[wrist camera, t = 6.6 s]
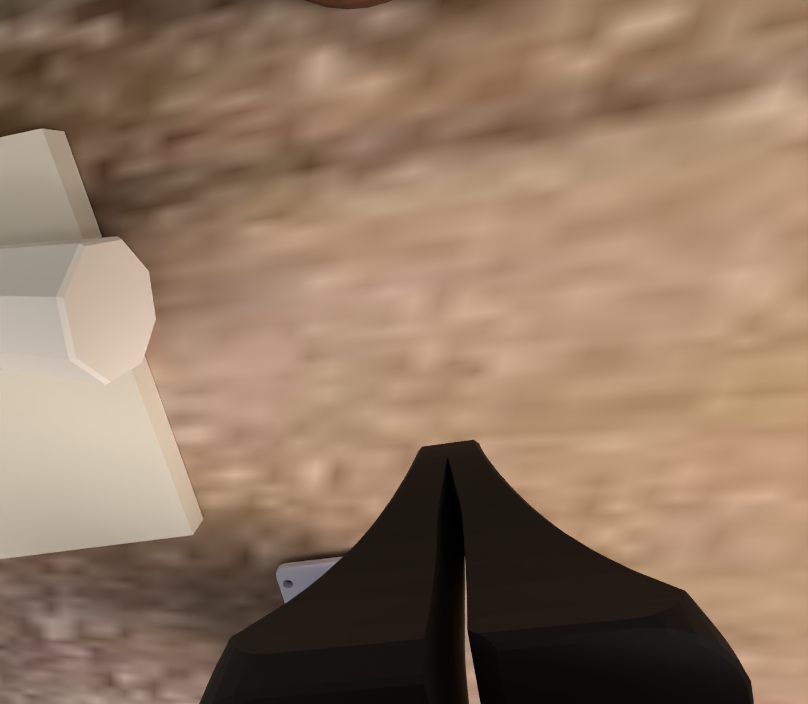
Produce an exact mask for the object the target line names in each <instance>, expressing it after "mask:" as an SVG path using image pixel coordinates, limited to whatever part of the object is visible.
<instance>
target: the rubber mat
mask: <svg viewBox="0 0 808 704" xmlns="http://www.w3.org/2000/svg"><path fill="white" fill-rule="evenodd" d="M90 238H102V235H101V232H100V230H99V227H98V224H97V221H96V219H95V216H94V213H93V210H92V207H91V205H90V202H89V199H88V196H87V194H86V191H85V188H84V185H83V182H82V180H81V177H80V174H79V171H78V168H77V166H76V163H75V160H74V157H73V155H72V152H71V149H70V146H69V143H68V141H67V138H66V135H65V132H64V131H58V130H50V129H43V128H41V129H37V130H32V131H27V132H23V133H18V134H13V135H9V136H4V137H0V246H1V245H13V244H26V243H39V242H52V241H65V240H77V239H90ZM202 520H203V516H202V514H201V511H200V508H199V505H198V502H197V500H196V497H195V494H194V491H193V489H192V486H191V483H190V480H189V477H188V475H187V472H186V469H185V466H184V464H183V461H182V458H181V455H180V452H179V450H178V447H177V444H176V441H175V438H174V436H173V433H172V430H171V427H170V425H169V422H168V419H167V416H166V413H165V411H164V408H163V405H162V402H161V400H160V397H159V394H158V391H157V388H156V386H155V383H154V380H153V377H152V374H151V372H150V369H149V366H148V363H147V361H146V358H145V355H144V358H143V361H142V363H141V364H139V365H138V366H136V367H134V368H133V369H131V370H129V371H128V372H126V373H124V374H123V375H121V376H119V377H118V378H116V379H114V380H113V381H111V382H109V383H108V384H106V385H104V384H98V383H91V382H85V381H78V380H72V379H66V378H59V377H53V376H46V375H40V374H33V373H27V372H20V371H14V370H7V369H1V368H0V559H5V558H13V557H21V556H29V555H37V554H45V553H53V552H61V551H69V550H77V549H85V548H93V547H101V546H109V545H117V544H125V543H133V542H141V541H149V540H157V539H165V538H173V537H181V536H189V535H193V534H194V533H195V531H196V529H197V528H198V526H199V525H200V523H201V522H202Z"/></svg>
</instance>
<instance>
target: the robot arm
mask: <svg viewBox="0 0 808 704" xmlns="http://www.w3.org/2000/svg"><path fill="white" fill-rule="evenodd" d="M465 561H466V583H467V630H468V636H469V641H470V647H471V652H472V658H473V664H474V669H475V675H476V680H477V686H478V691H479V697H480V703H481V704H754V700H753V693H752V686H751V680H750V679H749V677H748V675H747V673H746V672H745V670H744V668H743V666H742V665H741V663H740V661H739V659H738V658H737V656H736V654H735V653H734V651H733V650H732V648H731V647H730V645H729V644H728V642H727V641H726V640H725V638H724V637H723V635H722V634H721V633H720V632H719V630H718V629H717V628H716V627H715V626H714V624H713V623H712V622H711V621H710V619H709V618H708V617H707V616H706V615H705V613H704V612H703V611H702V610H701V609H700V607H699V606H698V605H697V604H696V603H695V601H694V600H693V599H692V598H691V597H690V596H689V594H688V593H687V592H686V591H684V590H682V589H679V588H677V587H674V586H671V585H669V584H666V583H664V582H661V581H659V580H656V579H654V578H651V577H649V576H646V575H643V574H641V573H638V572H636V571H634V570H631V569H629V568H627V567H625V566H623V565H621V564H619V563H617V562H615V561H613V560H611V559H609V558H607V557H605V556H603V555H601V554H599V553H597V552H595V551H594V550H592V549H590V548H588V547H587V546H585V545H583V544H582V543H580V542H579V541H577V540H575V539H574V538H572V537H570V536H569V535H567V534H566V533H564V532H563V531H561V530H560V529H559V528H557V527H556V526H554V525H553V524H552V523H551V522H549V521H548V520H547V519H545V518H544V517H543V516H542V515H541V514H539V513H538V512H537V511H536V510H535V509H534V508H532V507H531V506H530V505H529V504H528V503H527V502H526V501H525V500H524V499H523V498H522V497H521V496H520V495H519V494H518V493H517V492H516V491H515V490H514V489H513V488H512V487H511V486H510V485H509V484H508V483H507V482H506V481H505V479H504V478H503V477H502V476H501V475H500V474H499V473H498V471H497V470H496V469H495V468H494V466H493V465H492V464H491V462H490V461H489V460H488V458H487V457H486V455H485V454H484V452H483V451H482V449H481V447H480V445H479V443H477V442H476V441H475V440H469V441H461V442H454V443H446V444H439V445H432V446H424V447H422V448H421V449H420V450H419V451H418V453H417V455H416V457H415V460H414V462H413V463H412V465H411V467H410V469H409V471H408V473H407V475H406V476H405V478H404V480H403V481H402V483H401V485H400V486H399V488H398V490H397V491H396V493H395V494H394V496H393V497H392V499H391V500H390V502H389V503H388V505H387V506H386V507H385V509H384V510H383V512H382V513H381V514H380V516H379V517H378V519H377V520H376V521H375V522H374V524H373V525H372V526H371V527H370V529H369V530H368V531H367V532H366V533H365V535H364V536H363V537H362V538H361V539H360V540H359V541H358V542H357V544H356V545H355V546H354V547H353V548H352V549H351V550H350V551H349V552H347V553H346V554H345V555H344V556H343V557H334V558H326V559H317V560H308V561H300V562H291V563H284V564H281V565H280V566H279V567H278V569H277V572H276V578H277V581H278V584H279V587H280V590H281V593H282V597H283V600H284V603H285V604H284V605H282V606H281V607H279V608H278V609H276V610H275V611H273V612H272V613H270V614H268V615H267V616H265V617H264V618H262V619H260V620H259V621H257V622H255V623H254V624H252V625H251V626H249V627H247V628H246V629H244V630H243V631H241V632H239V633H237V634H236V635H234V636H232V637H231V638H230V640H229V642H228V644H227V646H226V648H225V650H224V652H223V654H222V655H221V657H220V659H219V661H218V663H217V665H216V667H215V669H214V671H213V674H212V676H211V678H210V680H209V682H208V685H207V687H206V689H205V692H204V694H203V696H202V699H201V701H200V703H199V704H469V699H468V688H467V678H466V665H465ZM286 580H290V581H292V582H287V581H286Z"/></svg>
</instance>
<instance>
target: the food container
mask: <svg viewBox="0 0 808 704" xmlns="http://www.w3.org/2000/svg"><path fill="white" fill-rule="evenodd" d="M306 1H308V2H312V3H315V4H318V5H322V6H325V7H331V8H340V9H356V8H368V7H372V6H375V5H379V4H382V3H386V2H389V1H391V0H306Z"/></svg>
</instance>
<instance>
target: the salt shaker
mask: <svg viewBox="0 0 808 704" xmlns="http://www.w3.org/2000/svg"><path fill="white" fill-rule="evenodd" d="M155 321H156V317H155V310H154V303H153V296H152V289H151V283H150V276H149V271H148V270H147V268H146V267H145V266H144V265H143V264H142V263H141V261H140V260H139V259H138V258H137V257H136V255H135V254H134V253H133V252H132V251H131V250H130V248H129V247H128V246H127V245H126V244H125V242H124V241H123V240H122V239H121V238H119V237H118V236H116V237H103V238H90V239H77V240H65V241H52V242H39V243H26V244H13V245H1V246H0V368H1V369H7V370H14V371H20V372H27V373H33V374H40V375H46V376H53V377H59V378H66V379H72V380H78V381H85V382H91V383H98V384H104V385H106V384H108V383H109V382H111V381H113V380H114V379H116V378H118V377H119V376H121V375H123V374H124V373H126V372H128V371H129V370H131V369H133V368H134V367H136V366H138V365H139V364H141V363H142V361H143V358H144V355H145V352H146V348H147V345H148V342H149V339H150V336H151V333H152V330H153V327H154V324H155Z"/></svg>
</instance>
